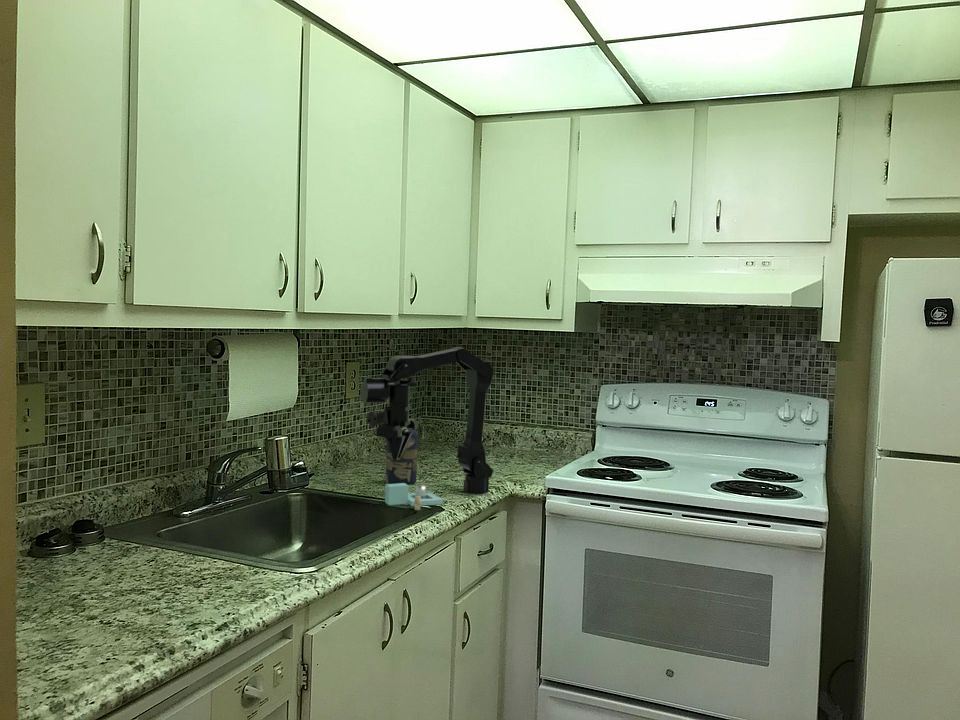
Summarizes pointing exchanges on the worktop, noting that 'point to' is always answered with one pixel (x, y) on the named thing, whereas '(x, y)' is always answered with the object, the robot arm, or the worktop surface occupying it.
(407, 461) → the canister
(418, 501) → the dowel
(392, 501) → the flange
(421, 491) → the post
